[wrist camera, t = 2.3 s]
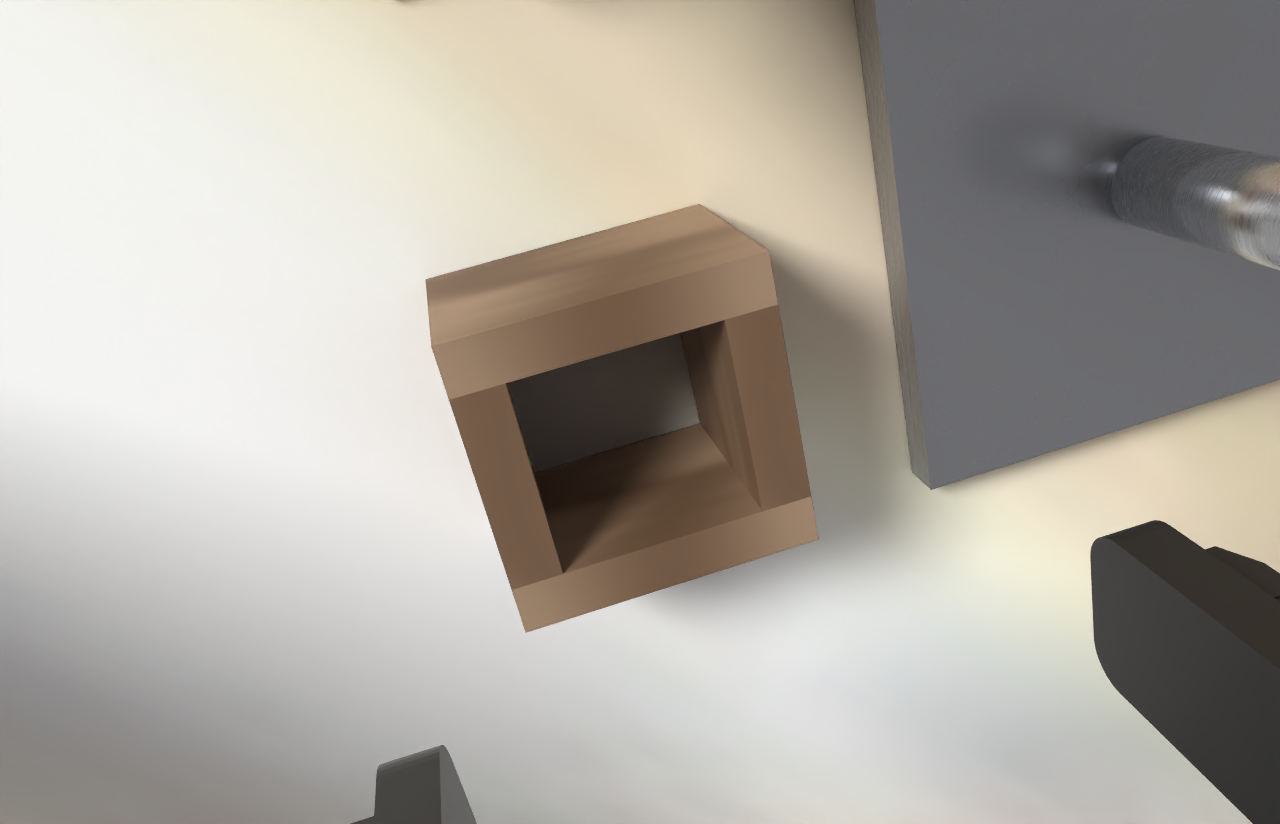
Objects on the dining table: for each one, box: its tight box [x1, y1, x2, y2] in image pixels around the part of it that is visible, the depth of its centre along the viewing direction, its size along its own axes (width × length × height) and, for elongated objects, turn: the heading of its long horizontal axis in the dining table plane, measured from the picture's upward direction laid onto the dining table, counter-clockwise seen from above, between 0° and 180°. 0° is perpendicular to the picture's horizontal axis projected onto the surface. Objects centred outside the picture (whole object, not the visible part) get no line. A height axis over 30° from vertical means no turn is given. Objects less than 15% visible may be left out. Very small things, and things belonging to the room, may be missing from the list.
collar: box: [426, 204, 818, 632], centre depth 20 cm, size 6×6×4 cm
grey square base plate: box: [854, 0, 1280, 490], centre depth 20 cm, size 12×12×8 cm
